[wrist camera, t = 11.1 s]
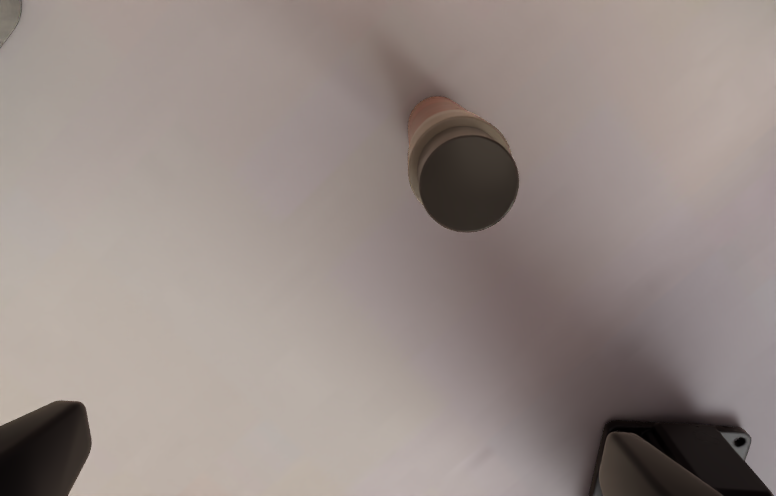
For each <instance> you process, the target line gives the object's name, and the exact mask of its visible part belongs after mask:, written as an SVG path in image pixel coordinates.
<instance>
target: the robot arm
mask: <svg viewBox="0 0 776 496" xmlns="http://www.w3.org/2000/svg"><path fill="white" fill-rule="evenodd" d="M617 430H620V431H619V432H615V431H617ZM737 438H739V439H737ZM736 439H737V440H736ZM750 444H751V437H750V435H749V434H748V433H747V432H746V431H745V430H744V429H742V428H740V427H728V426H713V425H703V424H685V423H668V422H659V423H658V422H641V421H623V420H613V421H610V422H608V423H607V424H606V425H605V427H604V430H603V434H602V439H601V443H600V448H599V452H598V457H597V461H596V466H595V470H594V475H593V479H592V484H591V488H590V493H589V496H774V495H773V494H772V492H771V491H770V490H769V489H768V488H767V487H766V485H765V484H764V483H763V482H762V481H761V480H760V479H759V477H758V476H757V475H756V474H755V473H754V472H753V470H752V469H751V468H750V467H749V466H748V465H747V463H746V462H745V459H746V456H747V453H748V450H749V447H750ZM90 450H91V434H90V429H89V423H88V418H87V412H86V408H85V406H84V404H83V403H81V402H78V401H55V402H53V403H50V404H48V405H46V406H44V407H42V408H39V409H37V410H35V411H33V412H31V413H28V414H26V415H24V416H22V417H20V418H17V419H15V420H13V421H11V422H9V423H6V424H4V425H2V426H0V496H68V494H69V492H70V490H71V488H72V486H73V485H74V483H75V481H76V479H77V477H78V475H79V473H80V471H81V469H82V467H83V465H84V463H85V462H86V460H87V458H88V456H89V453H90Z"/></svg>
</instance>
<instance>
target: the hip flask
mask: <svg viewBox="0 0 776 496" xmlns="http://www.w3.org/2000/svg"><path fill="white" fill-rule="evenodd" d="M20 14H21V0H0V47H1V46H2V44H3V43H4V42H5V41H6V39H7V38H8V37H9V35H10V34H11V33H12V31H13V30H14V29H15V27H16V25H17V23H18V21H19V18H20Z"/></svg>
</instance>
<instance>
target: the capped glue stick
mask: <svg viewBox="0 0 776 496" xmlns="http://www.w3.org/2000/svg"><path fill="white" fill-rule="evenodd" d="M408 137H409V148H408V177H409V182H410V185H411V188H412V190H413V193H414V194H415V196H416V198H417V199H418V200H419V202H420V203H421V204H422V205H423V206H424V208H425V210H426V211H427V213H428V214H429V215H430V216H431V218H432V219H433V220H435V221H436V222H437V223H438V224H440V225H441V226H443V227H445V228H447V229H450V230H453V231H457V232H477V231H481V230H484V229H486V228H489V227H491V226H493V225H494V224H496V223H497V222H499V221H500V220H501V219H502V218H503V217H504V216H505V215H506V214H507V213H508V212H509V210H510V209H511V207H512V206H513V204H514V202H515V199H516V196H517V193H518V188H519V174H518V169H517V166H516V163H515V161H514V159H513V157H512V154H511V150H510V147H509V145H508V143H507V141H506V139H505V138H504V136H503V135H502V134H501V132H500V131H499V130H498V129H497V128H495V127H494V126H493V125H492V124H490V123H489V122H487V121H486V120H484V119H482V118H481V117H479V116H478V115H476V114H474V113H471V112H468V111H467V110H466V109H464V108H463V107H461V106H460V105H458V104H457V103H455V102H454V101H452V100H451V99H449V98H446V97H441V96H434V97H429V98H427V99H424V100H423V101H421V102H420V103H419V104H417V105H416V106H415V108H414V109H413V111H412V112H411V114H410V117H409V121H408Z"/></svg>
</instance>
